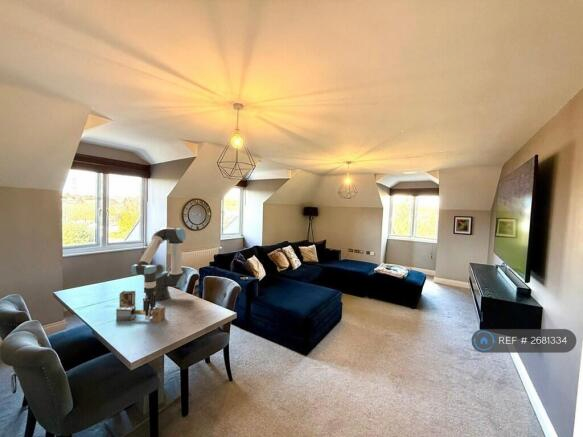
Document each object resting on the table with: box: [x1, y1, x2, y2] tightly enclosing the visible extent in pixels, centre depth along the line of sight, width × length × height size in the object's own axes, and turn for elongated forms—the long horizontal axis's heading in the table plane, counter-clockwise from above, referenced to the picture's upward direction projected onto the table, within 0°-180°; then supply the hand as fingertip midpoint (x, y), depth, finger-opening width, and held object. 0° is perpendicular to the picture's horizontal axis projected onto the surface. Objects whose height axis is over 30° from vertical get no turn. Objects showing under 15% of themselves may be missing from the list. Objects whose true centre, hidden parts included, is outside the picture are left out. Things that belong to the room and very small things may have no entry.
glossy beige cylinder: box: [134, 307, 153, 318], centre depth 178 cm, size 5×17×5 cm, turn 91°
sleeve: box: [115, 305, 137, 322], centre depth 177 cm, size 6×10×8 cm, turn 91°
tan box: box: [151, 305, 166, 324], centre depth 178 cm, size 8×5×9 cm, turn 1°
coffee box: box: [119, 290, 136, 307], centre depth 188 cm, size 9×6×16 cm
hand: (149, 317), depth 178 cm, fingers closed on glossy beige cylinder, 5 cm apart
